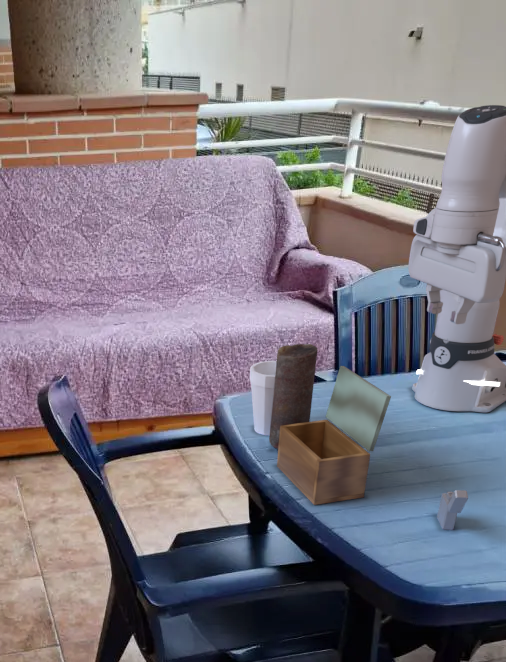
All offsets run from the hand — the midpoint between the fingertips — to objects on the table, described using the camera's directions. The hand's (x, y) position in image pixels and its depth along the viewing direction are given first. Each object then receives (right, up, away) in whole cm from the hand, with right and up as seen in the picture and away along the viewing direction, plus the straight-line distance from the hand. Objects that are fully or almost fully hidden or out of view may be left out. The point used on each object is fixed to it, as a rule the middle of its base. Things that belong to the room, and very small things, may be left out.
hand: (445, 317), depth 122 cm
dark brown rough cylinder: (-20, -19, +24) cm, 36 cm away
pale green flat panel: (-13, -14, +5) cm, 20 cm away
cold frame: (-18, -26, +11) cm, 33 cm away
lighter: (-2, -35, -4) cm, 35 cm away
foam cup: (-22, -14, +32) cm, 41 cm away
